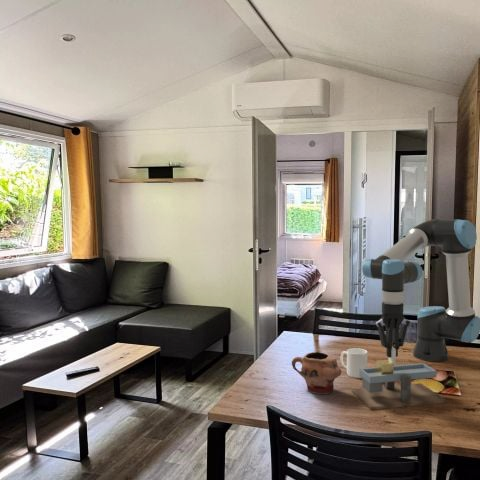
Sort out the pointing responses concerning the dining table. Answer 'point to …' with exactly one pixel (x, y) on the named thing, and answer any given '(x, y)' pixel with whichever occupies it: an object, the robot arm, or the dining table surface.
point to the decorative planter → (318, 371)
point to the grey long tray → (394, 375)
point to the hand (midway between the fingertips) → (392, 365)
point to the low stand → (398, 395)
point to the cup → (354, 361)
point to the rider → (384, 367)
